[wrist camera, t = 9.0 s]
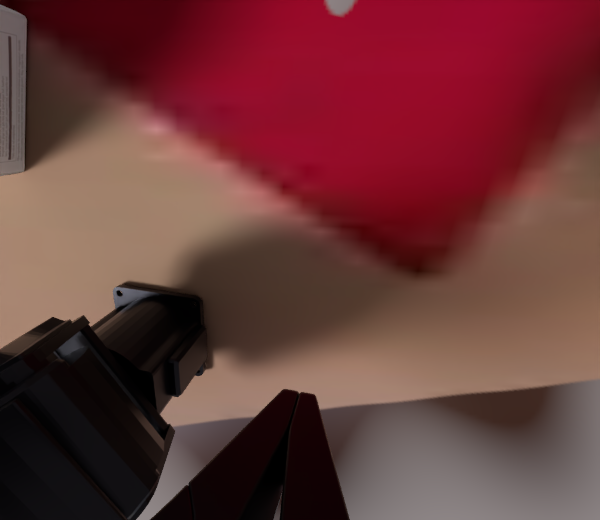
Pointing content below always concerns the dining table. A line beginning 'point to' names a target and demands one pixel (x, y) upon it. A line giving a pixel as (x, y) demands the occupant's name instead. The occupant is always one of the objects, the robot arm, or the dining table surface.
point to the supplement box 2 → (12, 91)
